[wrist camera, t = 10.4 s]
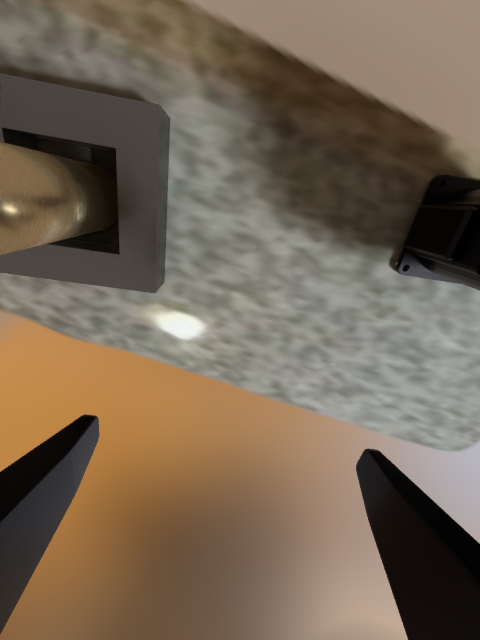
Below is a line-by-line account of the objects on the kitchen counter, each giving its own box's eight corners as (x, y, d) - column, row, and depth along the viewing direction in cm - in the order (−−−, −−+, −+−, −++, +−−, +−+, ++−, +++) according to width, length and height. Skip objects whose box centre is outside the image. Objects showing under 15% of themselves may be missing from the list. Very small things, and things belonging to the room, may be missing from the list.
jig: (170, 118, 15) (159, 104, 13) (164, 282, 20) (155, 293, 17) (-15, 82, 14) (-60, 61, 12) (20, 262, 19) (-9, 271, 16)
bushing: (120, 168, 16) (8, 139, 8) (122, 234, 18) (30, 265, 10) (53, 156, 16) (-136, 113, 8) (61, 225, 18) (-88, 249, 9)
